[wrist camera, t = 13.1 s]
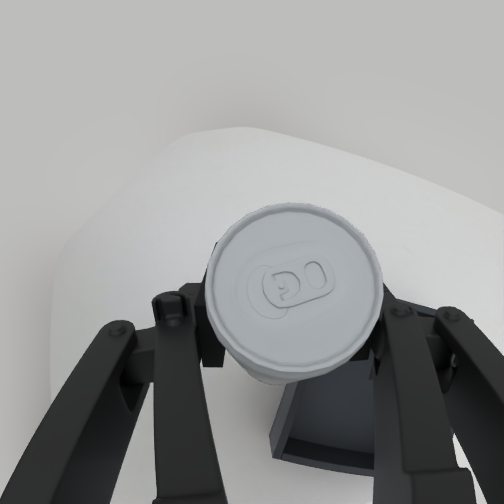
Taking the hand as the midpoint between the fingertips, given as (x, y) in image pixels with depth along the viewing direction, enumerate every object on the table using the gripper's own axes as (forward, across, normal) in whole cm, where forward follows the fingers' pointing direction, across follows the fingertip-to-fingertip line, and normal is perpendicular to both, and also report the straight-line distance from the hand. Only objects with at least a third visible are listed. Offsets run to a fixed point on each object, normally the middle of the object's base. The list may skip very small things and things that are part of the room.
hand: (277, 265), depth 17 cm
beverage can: (0, 0, -5) cm, 5 cm away
